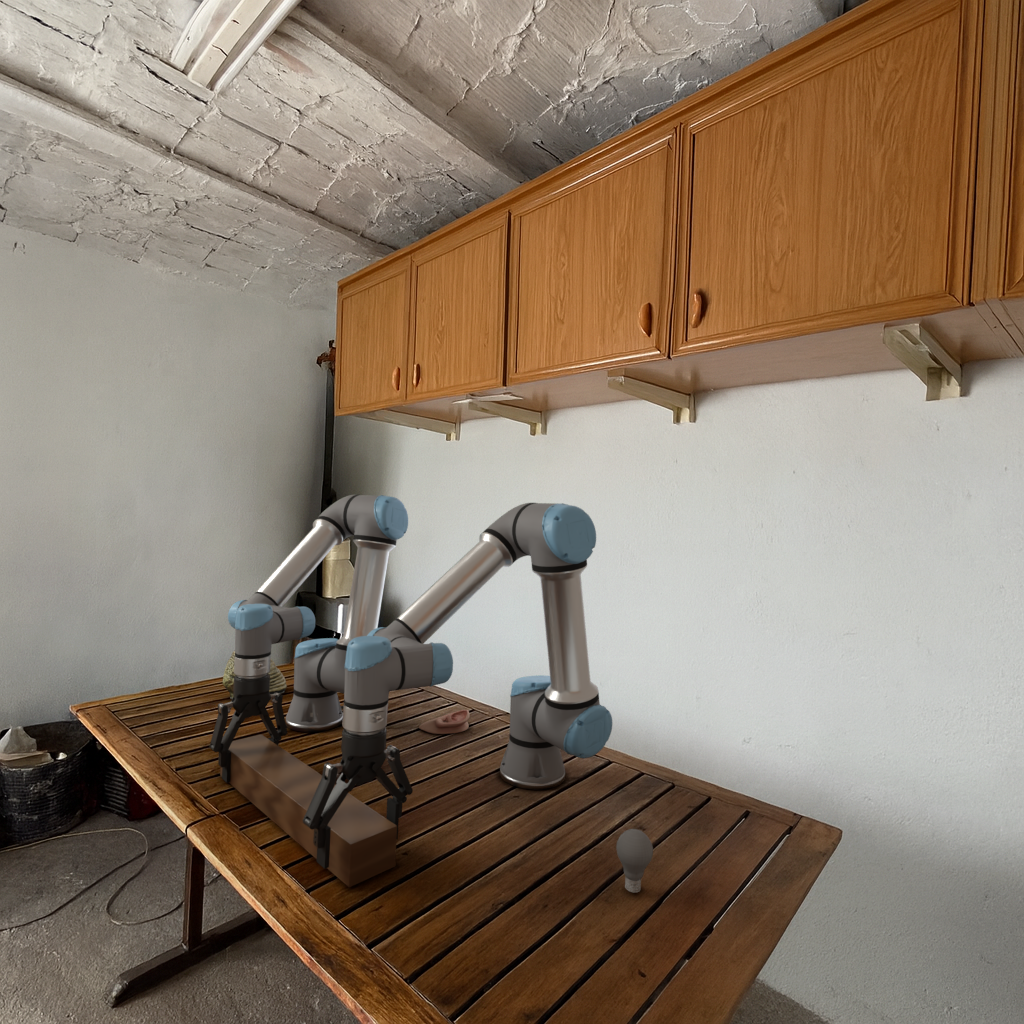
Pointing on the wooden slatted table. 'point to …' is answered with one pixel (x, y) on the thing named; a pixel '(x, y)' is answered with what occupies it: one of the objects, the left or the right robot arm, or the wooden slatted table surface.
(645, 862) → the light bulb
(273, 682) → the fossil
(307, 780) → the beam
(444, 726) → the anatomical model
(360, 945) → the wooden slatted table surface
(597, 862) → the wooden slatted table surface
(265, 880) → the wooden slatted table surface
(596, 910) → the wooden slatted table surface
